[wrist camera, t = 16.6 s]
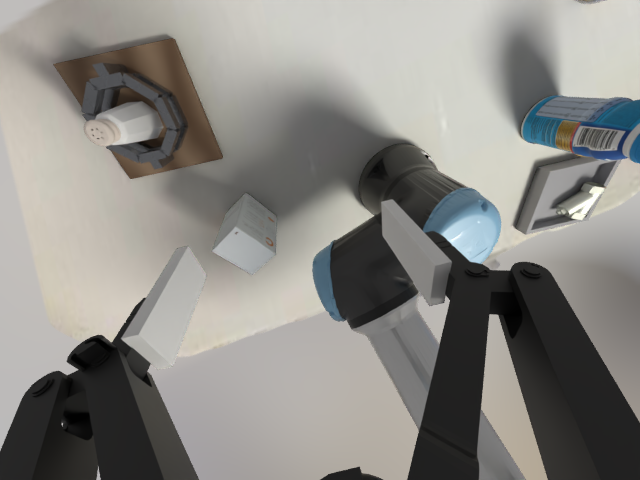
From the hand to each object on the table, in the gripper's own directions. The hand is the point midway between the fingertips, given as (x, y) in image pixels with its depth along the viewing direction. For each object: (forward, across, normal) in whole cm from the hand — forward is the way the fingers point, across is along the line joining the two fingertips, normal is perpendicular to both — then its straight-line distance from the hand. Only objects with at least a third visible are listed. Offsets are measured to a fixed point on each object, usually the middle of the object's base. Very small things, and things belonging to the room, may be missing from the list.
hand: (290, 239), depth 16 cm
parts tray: (+31, -60, +24) cm, 72 cm away
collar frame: (+31, +19, -8) cm, 37 cm away
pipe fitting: (+30, -63, +26) cm, 74 cm away
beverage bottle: (+31, -49, +6) cm, 58 cm away
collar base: (+31, +19, -8) cm, 37 cm away
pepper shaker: (+30, +20, -8) cm, 37 cm away
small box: (+31, +10, +12) cm, 35 cm away
